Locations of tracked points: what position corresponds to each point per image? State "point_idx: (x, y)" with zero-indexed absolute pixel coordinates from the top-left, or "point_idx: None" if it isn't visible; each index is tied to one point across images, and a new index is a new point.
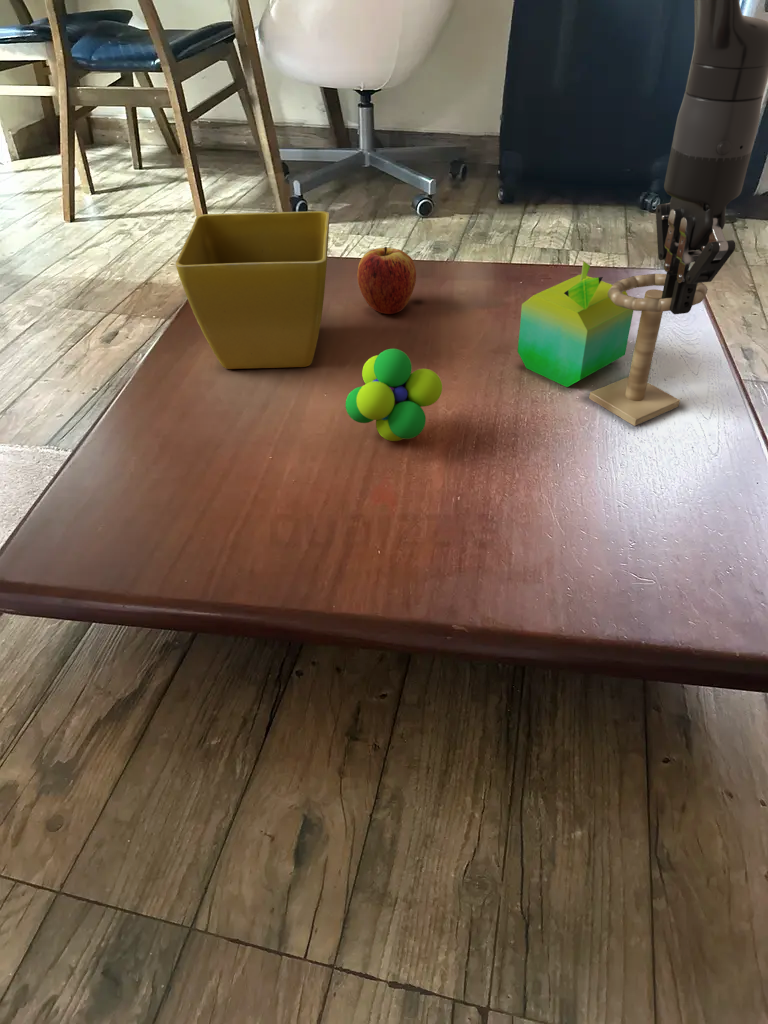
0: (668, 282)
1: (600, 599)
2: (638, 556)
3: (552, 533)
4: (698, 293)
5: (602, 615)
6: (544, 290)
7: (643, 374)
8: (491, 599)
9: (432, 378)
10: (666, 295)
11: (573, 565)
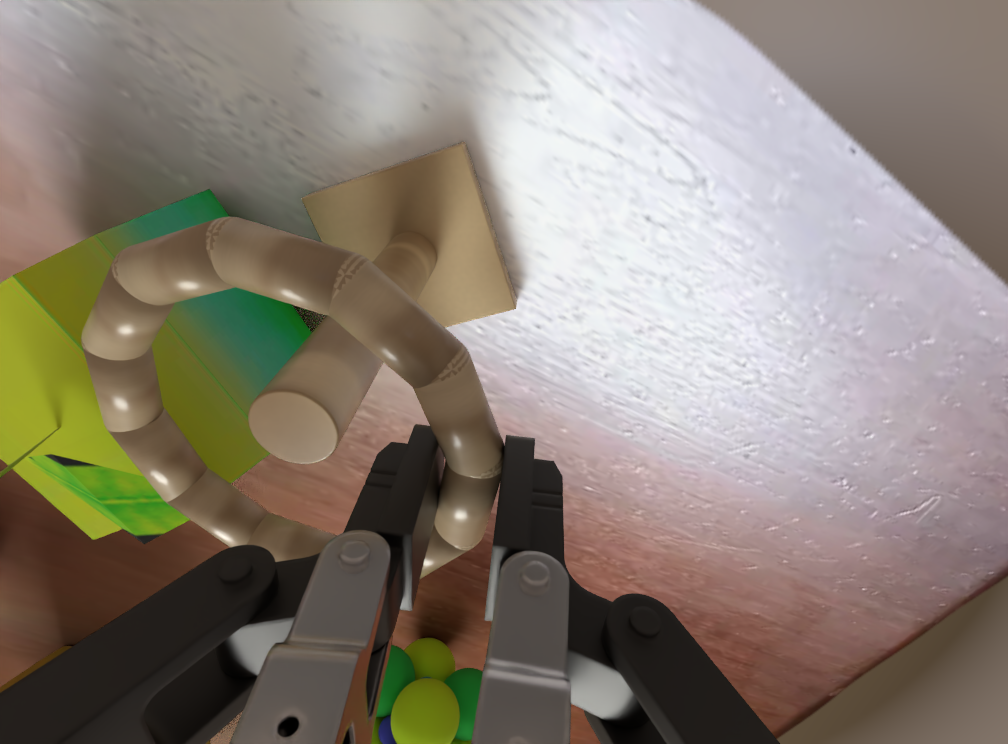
0: (420, 574)
1: (911, 567)
2: (875, 488)
3: (749, 562)
4: (452, 392)
5: (937, 577)
6: (55, 506)
7: (420, 291)
8: (819, 657)
9: (437, 741)
10: (433, 518)
11: (828, 567)
